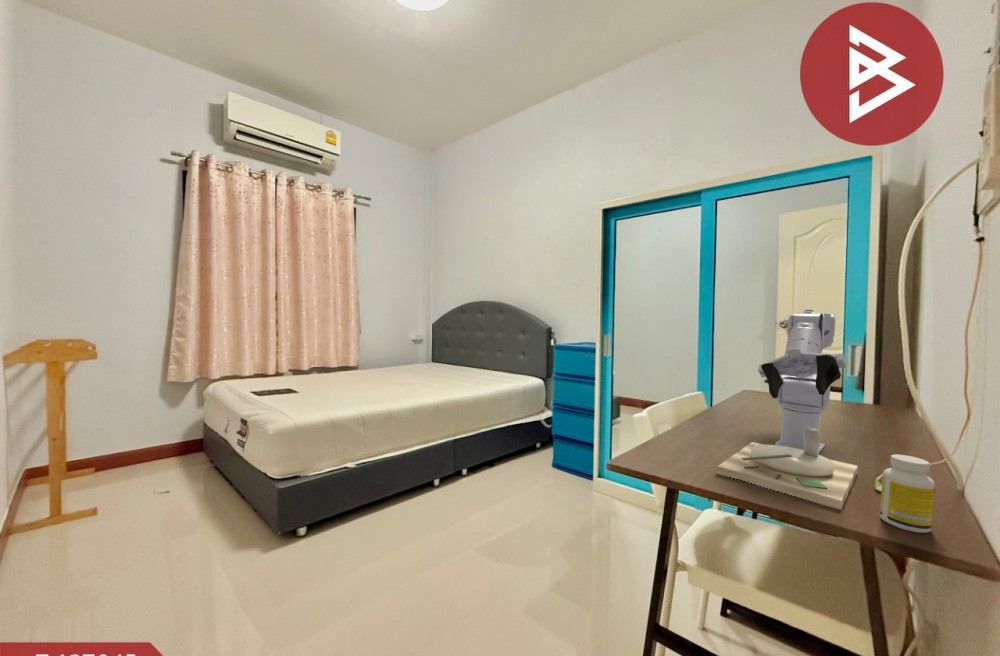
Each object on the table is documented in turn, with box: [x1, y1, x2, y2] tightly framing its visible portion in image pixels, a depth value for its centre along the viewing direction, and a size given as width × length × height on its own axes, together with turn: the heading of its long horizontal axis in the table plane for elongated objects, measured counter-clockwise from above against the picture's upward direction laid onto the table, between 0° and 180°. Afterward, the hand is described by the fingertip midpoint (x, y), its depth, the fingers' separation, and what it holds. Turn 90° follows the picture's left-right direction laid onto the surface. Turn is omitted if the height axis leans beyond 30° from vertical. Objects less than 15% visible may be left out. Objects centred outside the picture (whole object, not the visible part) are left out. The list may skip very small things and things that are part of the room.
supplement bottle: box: [879, 453, 936, 534], centre depth 59 cm, size 5×5×10 cm
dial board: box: [716, 441, 858, 511], centre depth 77 cm, size 22×18×2 cm
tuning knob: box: [742, 428, 834, 476], centre depth 77 cm, size 18×13×6 cm
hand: (795, 392), depth 77 cm, fingers open, 7 cm apart
